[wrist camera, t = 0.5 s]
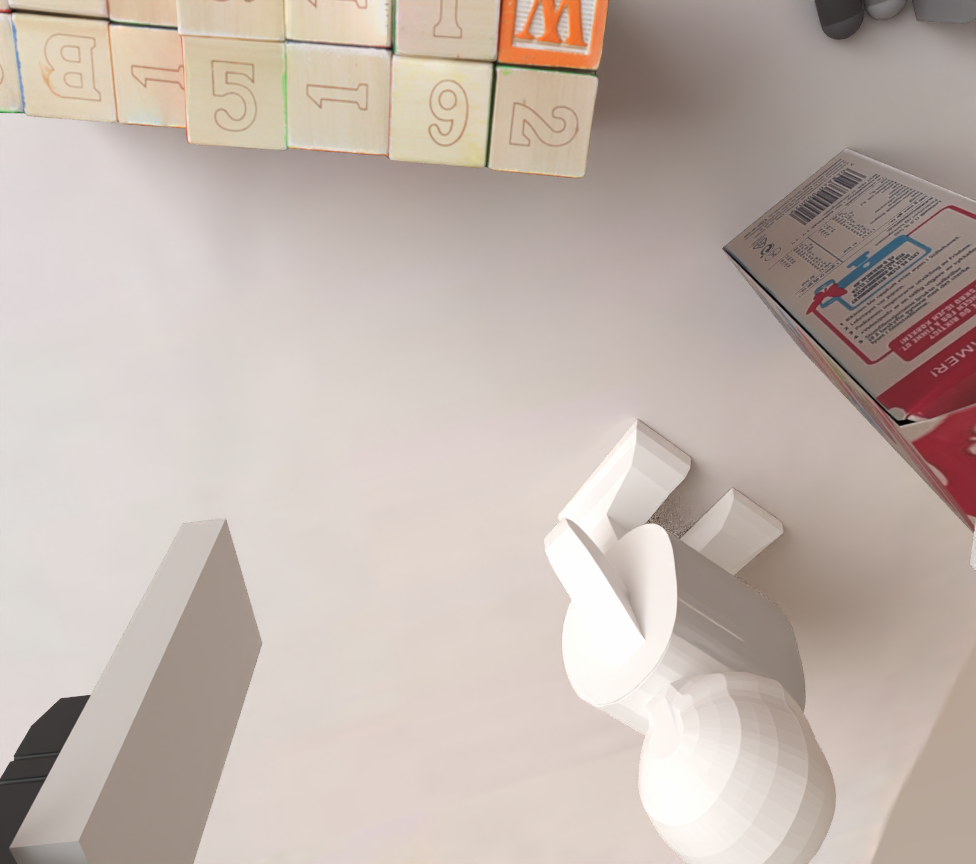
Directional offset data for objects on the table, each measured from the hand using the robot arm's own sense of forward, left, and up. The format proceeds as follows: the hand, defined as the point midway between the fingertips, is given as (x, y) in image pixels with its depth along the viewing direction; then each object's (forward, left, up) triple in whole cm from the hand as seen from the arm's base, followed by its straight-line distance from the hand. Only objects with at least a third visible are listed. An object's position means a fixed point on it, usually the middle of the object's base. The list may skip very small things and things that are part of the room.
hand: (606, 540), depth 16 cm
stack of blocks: (-10, -5, -27) cm, 30 cm away
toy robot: (+19, 0, -27) cm, 33 cm away
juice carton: (+8, +12, -27) cm, 31 cm away
